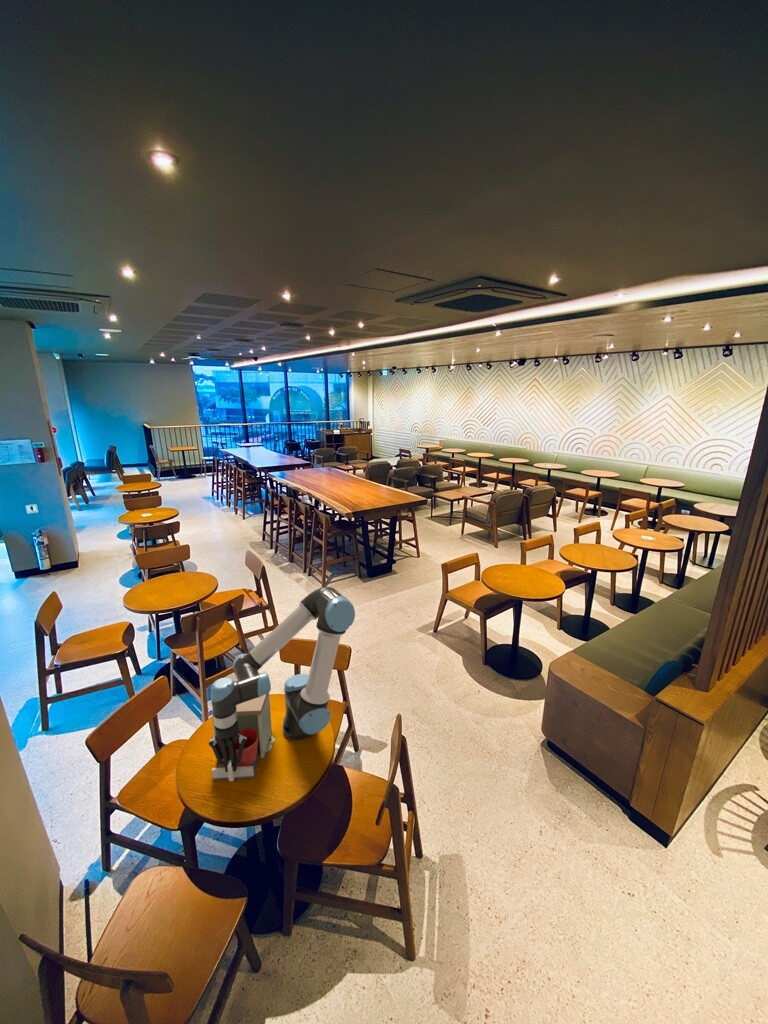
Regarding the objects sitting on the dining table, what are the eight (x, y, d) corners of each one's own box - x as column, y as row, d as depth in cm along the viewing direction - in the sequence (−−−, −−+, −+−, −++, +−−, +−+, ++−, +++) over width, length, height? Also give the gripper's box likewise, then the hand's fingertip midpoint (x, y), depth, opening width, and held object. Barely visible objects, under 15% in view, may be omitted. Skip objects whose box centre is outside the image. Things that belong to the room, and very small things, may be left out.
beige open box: (271, 730, 167) (268, 687, 163) (264, 757, 154) (260, 711, 149) (228, 732, 166) (224, 689, 162) (216, 760, 153) (211, 713, 148)
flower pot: (224, 769, 148) (222, 747, 145) (241, 746, 158) (239, 725, 156) (249, 774, 145) (247, 752, 143) (265, 751, 155) (263, 730, 153)
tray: (262, 746, 159) (262, 737, 158) (253, 778, 145) (252, 768, 144) (225, 748, 158) (225, 739, 157) (212, 780, 144) (211, 770, 143)
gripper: (247, 713, 141) (253, 767, 147) (210, 715, 141) (217, 770, 146) (242, 728, 134) (247, 785, 139) (202, 731, 133) (210, 788, 138)
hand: (232, 777), depth 142 cm, fingers closed
